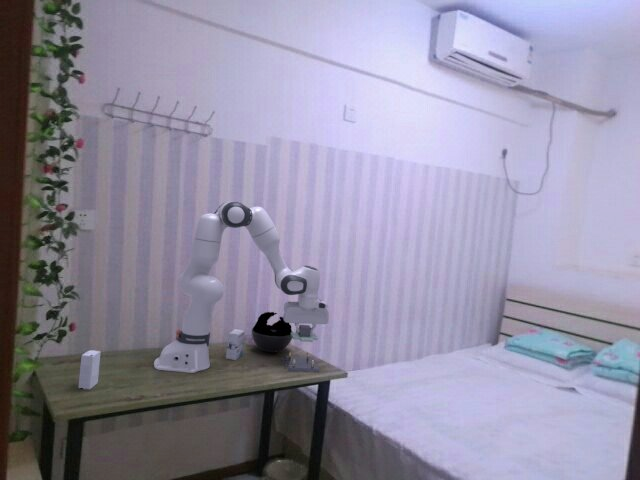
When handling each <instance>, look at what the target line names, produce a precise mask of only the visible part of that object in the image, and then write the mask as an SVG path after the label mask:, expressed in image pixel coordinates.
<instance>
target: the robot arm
mask: <svg viewBox="0 0 640 480" xmlns="http://www.w3.org/2000/svg"><path fill="white" fill-rule="evenodd" d="M242 227H243V228H245V229H246V230H247V231H248V233H249V234H250V235H249V236H250V237H251V238H252V241H253V243H254V244H255V245H256V246H257V248H258V249H259V250H260V252H262V253H263V254H264V256H265V257H266V259H267V261H268V263H269V264H270V266H271V269H272V270H273V273H274V283H275V285H276V287H277V288H278V289H279V290H280V291H281V292H283V294H286V295H289V296H295V295H297V301H286V302H285V303H284V306H283V310H284V313H283V316H282V317H283V320H284V321H285V322H286V323H289V324H294V326H295V328H296V330H295V333H296V332H297V333H300V328H299V325H300V324H307V325H309V324H310V325H312V326H311V333H314V330H315V328H317V325H328V324H329V322H330V321H329V319H330V314H329V310H328V307H329V305H328V304H327V302H325V301H324V300H321V299H319V289H320V284H321V283H320V281H321V277H320V275H321V274H320V271H319V270H318V268H316V267H313V266H310V265H303V266H302V267H300V268H299V269H295V270H293V269H291V268H290V267H288V265H287V264H286V261H285V260H284V258H283V256H282V253H281V252H280V241H281V239H280V236H279V233H278V229H277V228H276V227H277V226H275V224H274V222H273V220H272V218H271V217H270V215H269V214H268V212H267V211H266V210H265V209H264V208H263V207H261V206H253V207H250V208H249V207H248V206H246V205H245V204H243V203H242V202H238V201H236V200H227V201H225V202H223V203H222V204H220V205H219V206H218V208H217V209H216V210H215V211H214V213H204V214H202V215H201V216H200V217H199V219H198V222H197V225H196V228H195V232H194V237H193V244H192V249H191V254H190V257H189V260H188V263H187V265H186V267H185V269H184V271H182V272H181V274H179V276H178V277H177V281H176V282H177V283H176V284H177V287H178V289H179V290H180V291H181V292H182V293H183V294H184V295H186V297H190V298H191V300H190V301H191V302H190V304H189V307H188V308H187V309H186V310H185V311H184V312H183V317H182V328H181V329H177V330H176V332H175V334H176V337H175V340H173V341H172V342H171V343H169V344H167V345H166V346H164V348H163V349H162V351H161V353H160V356H159V357H157V358H156V359H155V360H154V362H153V367H154V369H155V370H158V371H166V372H167V371H169V372H178V373H190V374H194V373H197V372H199V371H204V370H206V369H208V368H210V367H211V364H210V359H209V358H210V357H209V346H210V341H211V332H210V328H211V320H212V314H213V311H214V308H215V306H216V304H217V303H218V302H219V301H220V300H222V298H223V296H224V293H225V287H224V285H223V283H222V282H221V281H220V280H219V279H218V278H217V277H215V276H212V275H210V272H211V270H212V268H213V266H214V265H215V264H217V262H218V261H219V257H220V250H221V247H222V246H221V244H222V238H223V234H224V231H225V229H227V228H230V229H231V228H233V229H237V228H242Z"/></svg>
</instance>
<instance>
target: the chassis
mask: <svg viewBox="0 0 640 480" xmlns="http://www.w3.org/2000/svg"><path fill="white" fill-rule="evenodd" d="M282 361H283V364H284V366H285V368H286V370H287V372H303V373H304V372H307V373H320V371H321V368H320V367H319V366H318V363H316V361H315V359H314V358H313V357H310V352H307V353H306V356H304V357H303V356H292V351H289V352H288V356H282Z"/></svg>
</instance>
